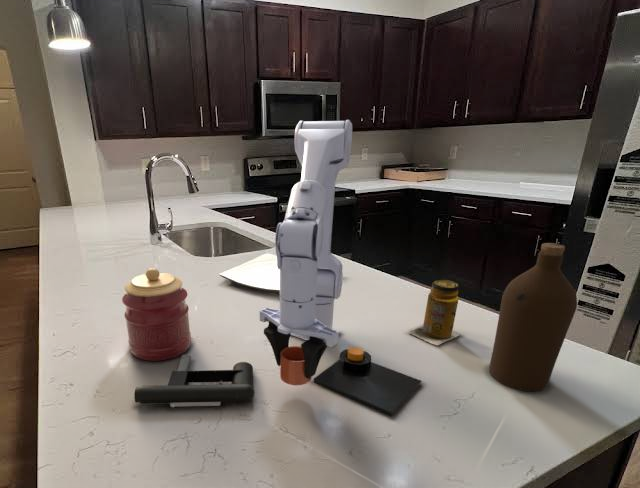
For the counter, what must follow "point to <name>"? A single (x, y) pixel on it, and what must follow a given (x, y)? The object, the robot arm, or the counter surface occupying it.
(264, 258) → the plate
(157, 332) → the kitchen canister
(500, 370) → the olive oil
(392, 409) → the scale
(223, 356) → the counter surface
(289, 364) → the cup
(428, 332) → the condiment
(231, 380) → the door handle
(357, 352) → the button
